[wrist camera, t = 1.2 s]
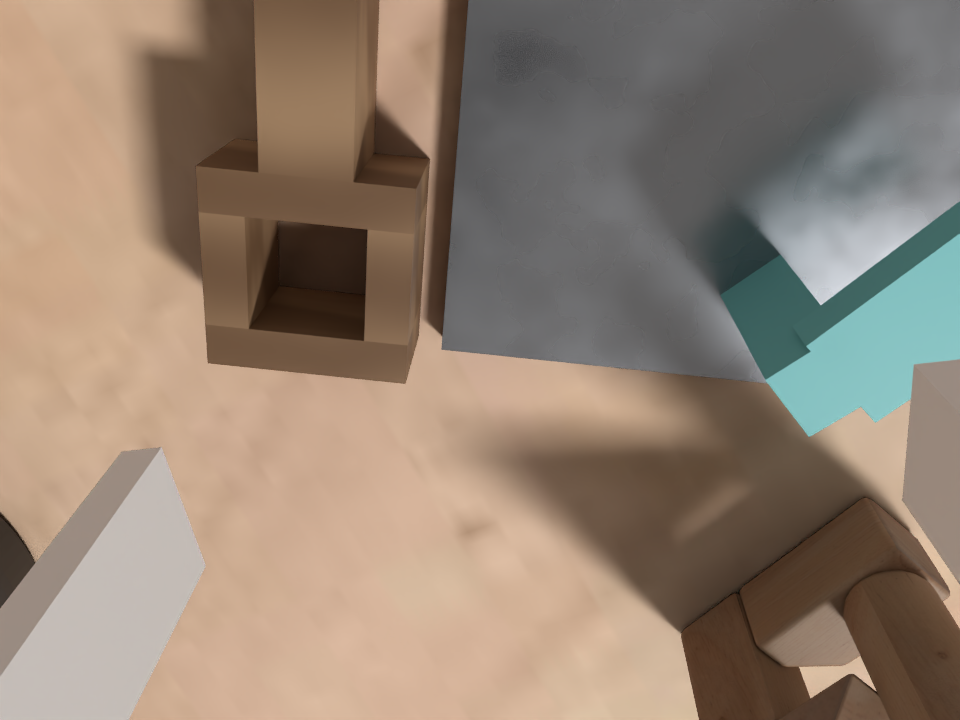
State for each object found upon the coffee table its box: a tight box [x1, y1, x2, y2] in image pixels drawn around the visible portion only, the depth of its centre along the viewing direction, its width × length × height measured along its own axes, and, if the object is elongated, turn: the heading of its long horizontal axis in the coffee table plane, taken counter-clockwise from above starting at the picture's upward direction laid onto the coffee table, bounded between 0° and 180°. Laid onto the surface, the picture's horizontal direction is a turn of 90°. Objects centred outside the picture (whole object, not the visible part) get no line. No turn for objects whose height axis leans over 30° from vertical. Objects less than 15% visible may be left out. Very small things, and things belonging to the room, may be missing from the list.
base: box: [442, 0, 960, 383], centre depth 25 cm, size 19×19×8 cm
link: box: [195, 0, 430, 384], centre depth 27 cm, size 18×7×4 cm, turn 175°
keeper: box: [720, 201, 960, 437], centre depth 27 cm, size 4×9×8 cm, turn 135°
